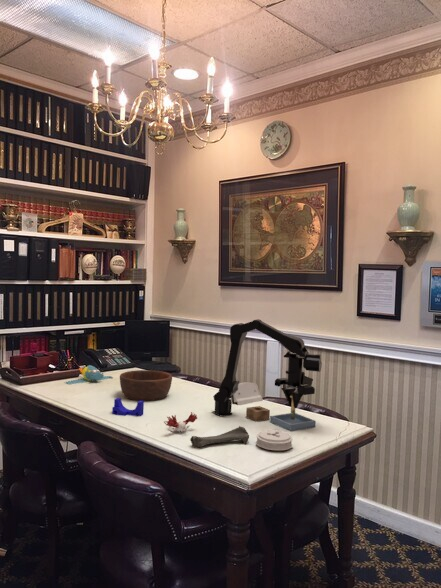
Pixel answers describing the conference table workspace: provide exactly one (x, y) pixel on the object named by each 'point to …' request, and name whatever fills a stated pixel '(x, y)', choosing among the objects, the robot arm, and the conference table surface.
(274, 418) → the tray
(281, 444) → the lid
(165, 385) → the wooden bowl
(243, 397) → the hinge
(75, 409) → the conference table surface
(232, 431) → the bone
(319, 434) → the conference table surface
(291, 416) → the brass pin
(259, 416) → the pin block
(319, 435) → the conference table surface
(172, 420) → the figurine
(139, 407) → the cable clip
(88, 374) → the blue toy parrot
